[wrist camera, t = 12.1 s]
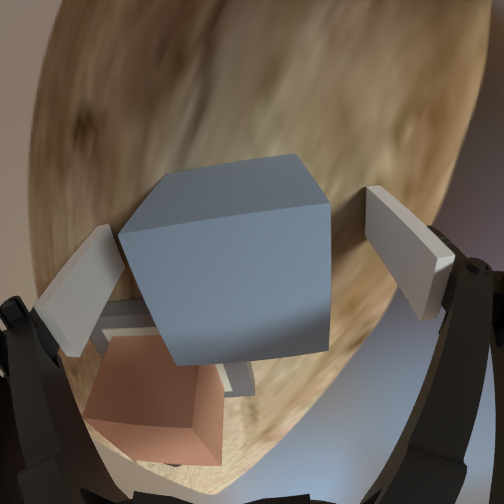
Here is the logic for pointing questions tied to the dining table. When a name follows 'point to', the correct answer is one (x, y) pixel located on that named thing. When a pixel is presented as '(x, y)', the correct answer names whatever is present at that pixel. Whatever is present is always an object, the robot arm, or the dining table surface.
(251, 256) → the blue block
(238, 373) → the blueprint board
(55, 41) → the dining table surface
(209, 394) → the terracotta block
